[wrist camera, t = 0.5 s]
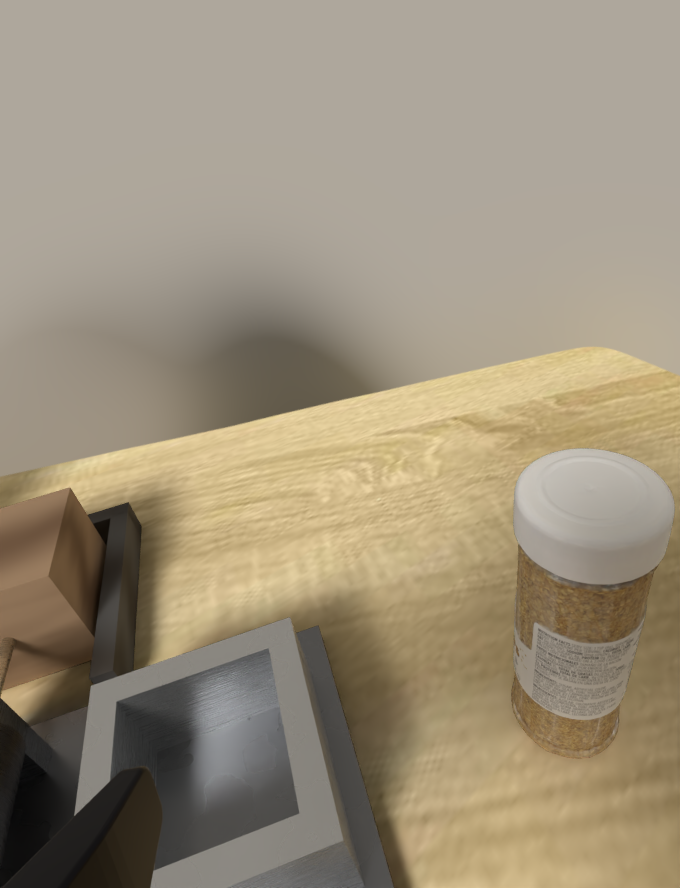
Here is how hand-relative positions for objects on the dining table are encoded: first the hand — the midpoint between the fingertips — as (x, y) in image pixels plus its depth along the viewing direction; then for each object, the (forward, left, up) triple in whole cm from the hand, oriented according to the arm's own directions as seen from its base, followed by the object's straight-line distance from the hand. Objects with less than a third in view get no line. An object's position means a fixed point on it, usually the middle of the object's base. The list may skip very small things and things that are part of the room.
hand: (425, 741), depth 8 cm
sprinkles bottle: (+7, -8, -17) cm, 20 cm away
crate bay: (+22, +17, -16) cm, 33 cm away
